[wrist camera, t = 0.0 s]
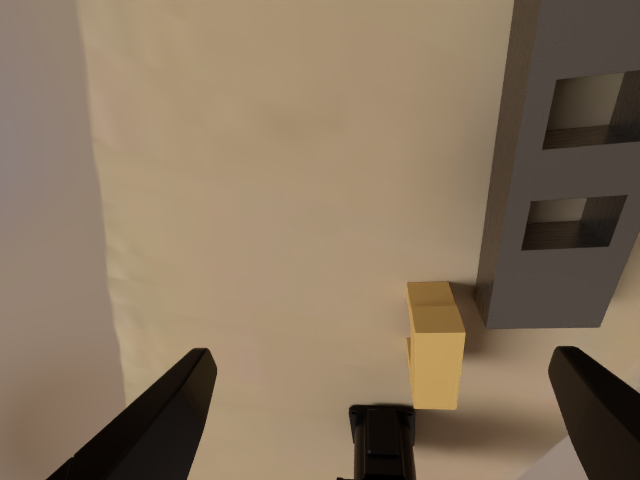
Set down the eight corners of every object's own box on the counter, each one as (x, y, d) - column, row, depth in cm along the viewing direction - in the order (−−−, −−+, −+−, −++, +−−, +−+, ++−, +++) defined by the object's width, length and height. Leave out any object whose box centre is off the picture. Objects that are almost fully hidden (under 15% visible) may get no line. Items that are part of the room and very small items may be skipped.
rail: (575, 296, 25) (599, 327, 22) (474, 299, 26) (485, 328, 24) (717, -125, 14) (797, -159, 11) (526, -89, 15) (560, -112, 12)
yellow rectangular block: (442, 352, 30) (456, 409, 25) (406, 352, 30) (413, 408, 26) (448, 279, 25) (465, 332, 21) (406, 280, 26) (415, 333, 22)
